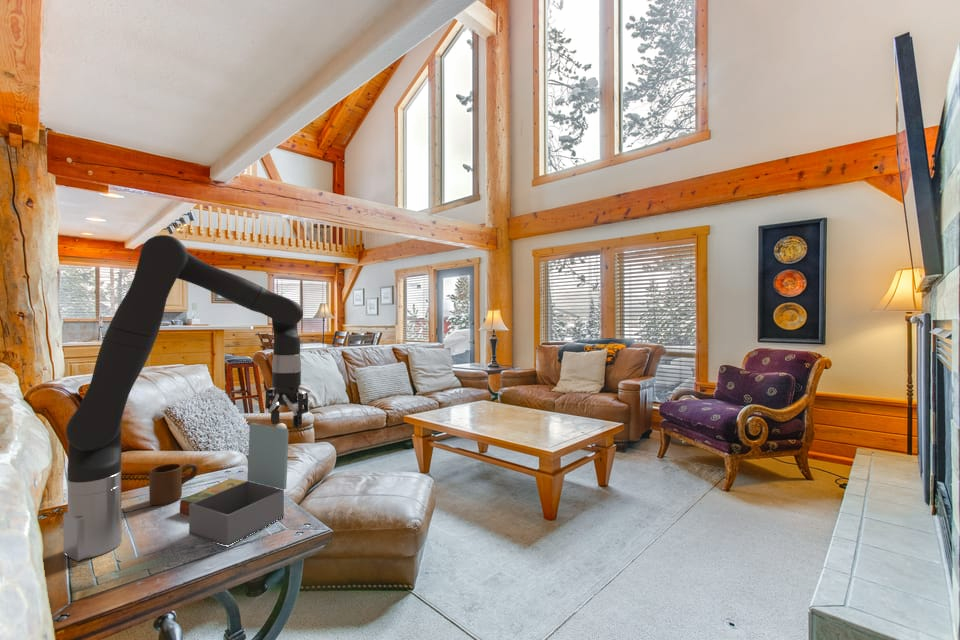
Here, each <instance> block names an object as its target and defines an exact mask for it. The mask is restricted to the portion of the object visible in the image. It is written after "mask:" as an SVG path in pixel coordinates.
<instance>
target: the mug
mask: <svg viewBox="0 0 960 640" xmlns="http://www.w3.org/2000/svg"><path fill="white" fill-rule="evenodd" d="M190 469H192V470H191V472H190V473H189V474H186V475H184V476H183V473H185V472H187V471H189V470H190ZM198 473H199V466H198V465H197V464H196V463H194V462H191V463H186V464H185V465H183V466H182V465H181V463H180V464H179V463H167V464H162V465H158V466H155V467H153V468H151V469H150V470H149V475H148V476H149V479H148V480H149V482H148V483H149V484H148V487H149V488H148V491H149V496H148V497H149V503H150V504H151V505H152V506H165V505H164V504H166V505H169V503H170V504H172V502H173V503H175V502H177V501H178V500H181V498H182V494H183V489H182V488H183V485H184V484H185V483H187V482H189V481H191V480H193V479H194V478H195V477H196V476H197V475H198Z"/></svg>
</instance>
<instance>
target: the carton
mask: <svg viewBox="0 0 960 640" xmlns="http://www.w3.org/2000/svg"><path fill="white" fill-rule="evenodd" d="M246 481H247V480H243V479H236V478H231V477H230V478H228V479H225V480H223V481H221V482H220V483H219V482H218V483H216V484H214V485H213V486H212V485H211V486H210V487H208V488H205V489H203V490H201V491H198V492H197V493H194V494H192V495H189V496H186V497H184V498H182V499H180V501H179V514H180V515H185V516H189V504H191V503H194V502H196V501H199V500H201V499H204V498H206V497H209V496H211V495H213V494H216V493H218V492H221V491H223V490H226V489H228V488H231V487H233V486H236V485H238V484H241V483H243V482H246Z"/></svg>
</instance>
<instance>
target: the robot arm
mask: <svg viewBox="0 0 960 640" xmlns="http://www.w3.org/2000/svg"><path fill="white" fill-rule="evenodd" d="M137 262H138V263H137V266H136V269H135V273H134V276H133V279H132V282H131V284H130V287H129V289H128V291H126V294H125V295H124V297H123V298H122V301H121V302H120V304H119V306H118V307H117V309H116V311H115V313H114V315H113V317H112V320H111V321H110V322H109V326H108V327H107V330H106V332H105V335H104V337H103V339H102V342H101V346H100V348H99V351H98V354H97V358H96V359H95V364H94V369H93V373H92V377H91V380H90V384H89V386H88V387H87V390H86V392H85V395H84V396H83V398H82V400H81V402H80V403H79V406H78V408H76V411H74V413H72V416H71V417H70V418H69V420H68V422H67V424H66V427H65V436H66V439H67V441H68V459H67V467H66V470H67V511H66V512H64V513H63V516H62V517H63V520H62V525H63V532H62V533H63V554H64V553H66V554H67V555H69V556H70V557H71V558H70V557H69V558H70V559H72V560H74V561H76V562H79V561H82V560H85V559H89V558H94V557H98V556H101V555H104V554H106V553H108V552H111V551H112V550H114V549H116V548H117V547H118V546H120V544H121V543H122V537H123V531H122V530H123V529H122V528H123V527H122V420H123V415H124V411H125V408H126V405H127V402H128V398H129V395H130V392H131V391H132V389H133V387H134V385H135V382H136V381H137V380H138V377H139V376H140V374H141V372H142V370H143V369H144V366H145V365H146V363H147V361H148V358H149V357H150V354H151V352H152V350H153V347H154V345H155V342H156V340H157V337H158V335H159V331H160V328H161V326H162V325H161V324H162V322H163V318H164V314H165V309H166V305H167V300H168V298H169V295H170V292H171V290H172V288H173V286H174V284H175V282H176V280H177V279H179V280H181V281H184V282H188V283H190V284H193V285H195V286H198V287H201V288H203V289H205V290H206V291H209V292H212V293H214V294H215V295H218V296H220V297H222V298H223V299H226V300H228V301H229V302H232V303H234V304H236V305H239V306H242V307H243V308H245V309H248V310H250V311H252V312H256V313H260V314H262V315H265V316H266V317H268V318H271V324H272V325H271V326H272V331H273V332H272V333H273V348H272V349H273V355H272V356H273V358H272V365H271V367H272V369H271V372H272V374H271V375H272V376H271V377H272V378H271V386H272V387H269V388H266V389H265V399H264V400H265V403H264V404H265V406H264V408H265V410H266V409H267V410H269V412H270V423H271V424H272V425H278V424H280V409H281V407H282V406H285V407H288V409H289V410H291V411H292V414H293V416H292V417H293V418H292V420H293V421H292V428H293V429H295V430H296V429H299V428H301V427H302V424H303V414H307V413H308V412H309V396H308V395H309V393H308V392H307V391H300V389H299V387H300V386H301V384H302V383H301V382H302V375H301V374H302V360H301V359H302V358H301V338H300V336H299V333H298V323H300V322H301V320H302V319H303V316H304V310H303V308H302V306H301V305H300V303H298V302H296V301H294V300H293V299H290V298H287V297H285V296H283V295H280V294H278V293H275V292H272V291H270V290H268V289H266V288H265V287H263V286H261V285H259V284H257V283H256V282H253V281H250V280H248V279H246V278H245V277H241V276H239V275H236V274H234V273H231V272H228V271H225V270H223V269H221V268H219V267H218V268H217V267H215V266H214V265H211V264H208V263H207V262H204V261H203V260H201V259H200V258H198V257H196V256H194V254H191V253H190V252H188V250H187V248H186V246H185V245H184V244H183V243H182V241H180V240H179V239H178V238H176V237H174V236H171V235H166V234H161V235H155V236H152V237H150V238H148V239H147V240H146V241H145V242H144V243H143V244H142V245H141V249H140V254H139V258H138V261H137Z"/></svg>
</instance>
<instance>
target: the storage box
mask: <svg viewBox="0 0 960 640" xmlns="http://www.w3.org/2000/svg"><path fill="white" fill-rule="evenodd" d="M245 481H246V482H243V483H241V484H238V485H236V486H233V487H231V488H228V489H226V490H223V491H221V492H218V493H216V494H213V495H211V496H209V497H206V498H204V499H201V500H199V501H196V502H194V503H191V504H189V515H188V517H189V518H188V519H189V520H188V524H189V525H188V527H189V528H188V532H189V533H188V534H189V535H191V536H193V537H196V538H199V539H202V540H205V541H207V542H210V543H212V542H215V543H219V544H223V545H230V544H232V543H234V542H236V541H238V540H240V539H242V538H245V537H247V536H249V535H250V534H252V533H254V532H256V531H258V530H260V529H262V528H264V527H265V526H267V525H269V524H271V523H272V522H274V521H276V520H277V519H279V518H281V517H283V516H284V517H285V511H284V510H285V507H284V506H285V503H284V502H285V501H284V500H285V495H284V494H285V491H284V490H285V489H284V490H283V489H279V488H275V487H271V486H267V485H263V484H259V483H255V482H251V481H248V480H245ZM271 525H272V524H271ZM269 526H270V525H269ZM267 527H268V526H267ZM264 529H265V528H264ZM262 530H263V529H262ZM260 531H261V530H260ZM258 532H259V531H258ZM256 533H257V532H256ZM254 534H255V533H254ZM249 537H250V536H249ZM247 538H248V537H247ZM245 539H246V538H245ZM215 543H214V544H215Z"/></svg>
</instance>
